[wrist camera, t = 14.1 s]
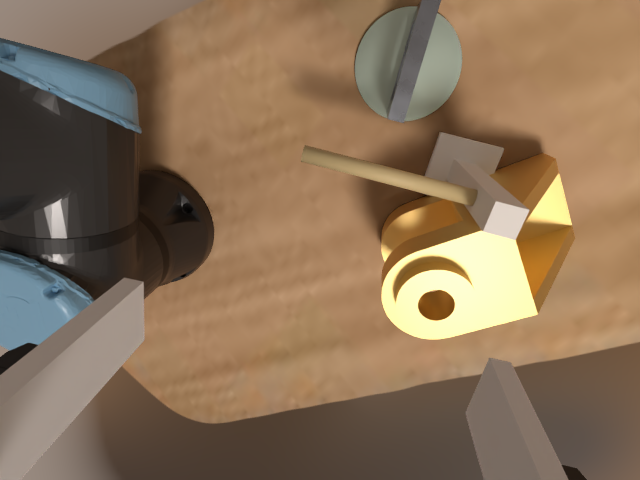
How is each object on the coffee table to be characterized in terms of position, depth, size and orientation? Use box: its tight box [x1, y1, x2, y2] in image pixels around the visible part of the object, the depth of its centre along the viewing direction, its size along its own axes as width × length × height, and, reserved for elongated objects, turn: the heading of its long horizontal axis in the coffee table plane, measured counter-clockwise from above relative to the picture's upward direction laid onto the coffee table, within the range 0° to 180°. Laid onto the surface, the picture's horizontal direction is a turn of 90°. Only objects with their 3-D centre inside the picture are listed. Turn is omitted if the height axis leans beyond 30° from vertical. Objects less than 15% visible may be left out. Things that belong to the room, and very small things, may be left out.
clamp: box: [381, 153, 575, 339], centre depth 39 cm, size 20×9×16 cm, turn 114°
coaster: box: [355, 6, 462, 121], centre depth 41 cm, size 11×11×1 cm
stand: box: [301, 132, 529, 240], centre depth 36 cm, size 20×7×18 cm, turn 77°
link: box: [387, 0, 441, 123], centre depth 37 cm, size 2×10×8 cm, turn 167°
